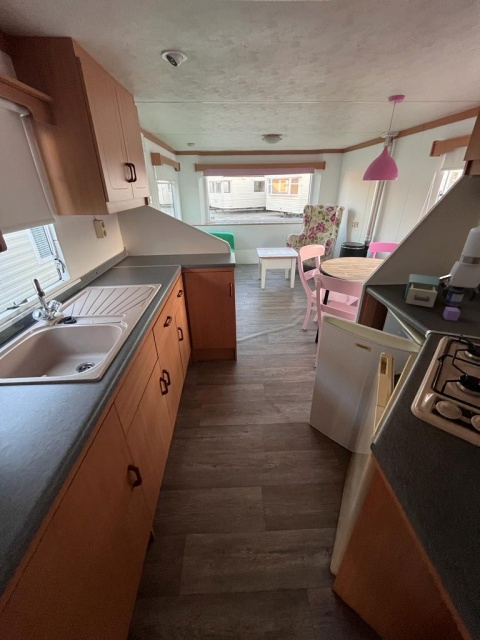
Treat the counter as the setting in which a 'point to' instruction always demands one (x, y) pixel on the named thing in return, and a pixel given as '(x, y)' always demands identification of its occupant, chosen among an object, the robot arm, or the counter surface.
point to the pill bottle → (454, 296)
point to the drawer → (421, 295)
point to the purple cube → (451, 313)
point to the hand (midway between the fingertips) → (456, 298)
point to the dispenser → (421, 281)
